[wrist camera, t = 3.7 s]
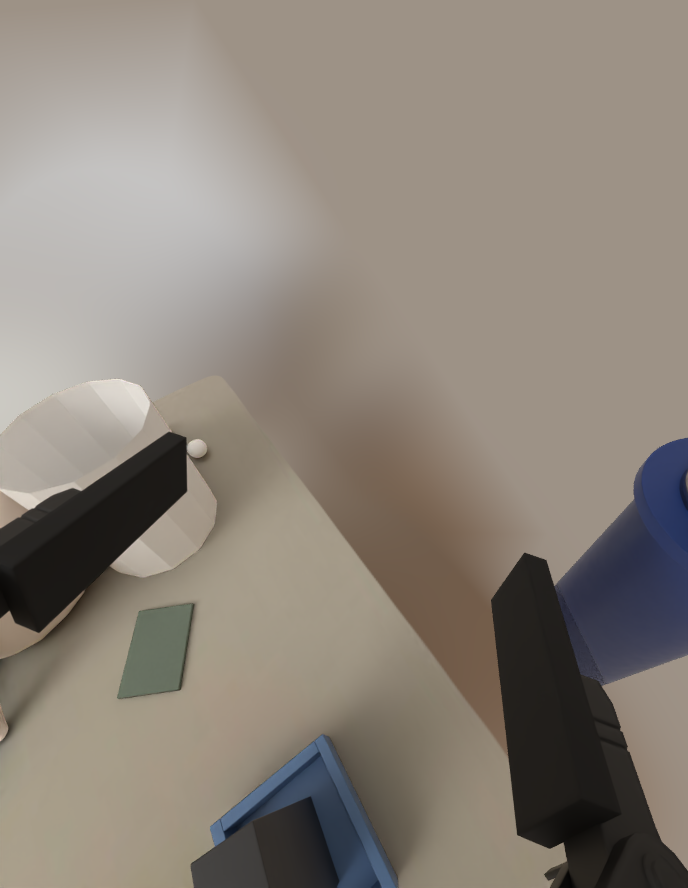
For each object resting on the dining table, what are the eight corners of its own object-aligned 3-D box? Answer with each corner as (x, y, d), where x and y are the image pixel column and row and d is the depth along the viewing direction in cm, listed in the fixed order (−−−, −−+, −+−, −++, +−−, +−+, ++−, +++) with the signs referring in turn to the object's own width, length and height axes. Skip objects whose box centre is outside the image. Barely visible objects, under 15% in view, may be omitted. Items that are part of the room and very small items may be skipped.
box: (328, 735, 32) (322, 733, 29) (398, 879, 26) (398, 892, 23) (226, 820, 29) (209, 827, 26) (279, 1002, 23) (264, 1033, 21)
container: (171, 592, 41) (64, 511, 28) (80, 557, 46) (-52, 471, 32) (236, 490, 50) (178, 389, 36) (154, 467, 54) (74, 370, 41)
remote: (339, 881, 26) (294, 985, 14) (298, 915, 25) (211, 1055, 13) (310, 795, 29) (252, 820, 17) (273, 822, 28) (184, 868, 16)
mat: (140, 612, 41) (138, 611, 40) (194, 604, 41) (192, 603, 40) (119, 699, 35) (116, 698, 35) (180, 690, 35) (178, 689, 35)
